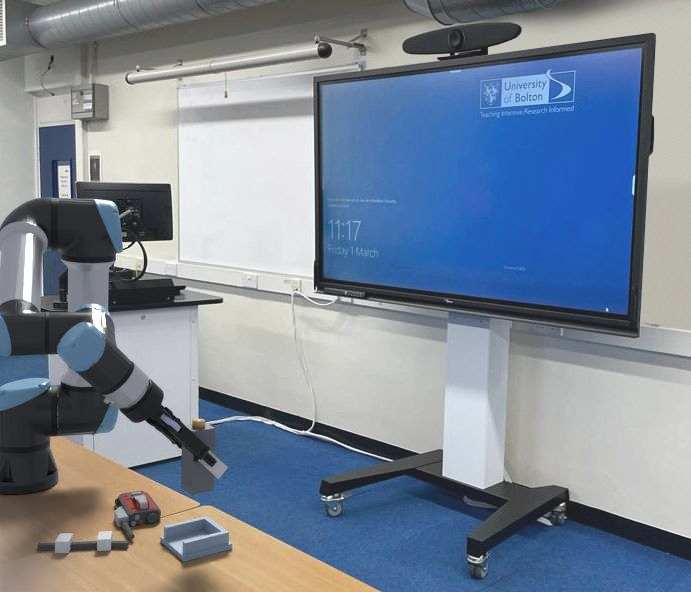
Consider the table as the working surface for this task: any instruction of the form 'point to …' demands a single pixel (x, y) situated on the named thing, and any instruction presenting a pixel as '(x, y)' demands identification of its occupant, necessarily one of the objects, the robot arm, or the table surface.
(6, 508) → the table surface
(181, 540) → the tray
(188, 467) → the grey post with ball
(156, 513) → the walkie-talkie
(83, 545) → the cable run
